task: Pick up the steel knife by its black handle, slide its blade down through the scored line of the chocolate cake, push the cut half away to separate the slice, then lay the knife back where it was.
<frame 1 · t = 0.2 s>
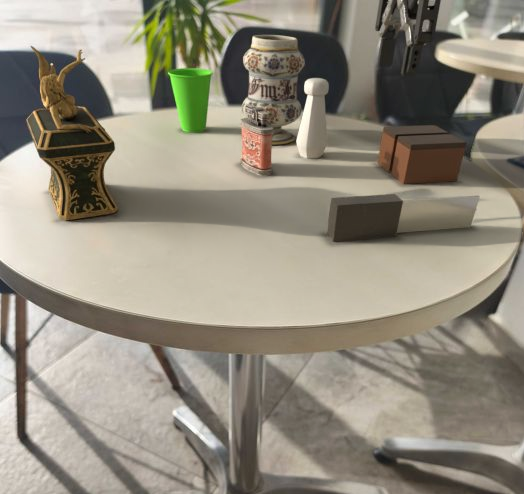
hand: (395, 71, 74), 17 cm above the table, tool pointing down, fingers open, 8 cm apart
cake half a: (423, 177, 86), on the table
knife: (391, 232, 68), on the table
cake half b: (408, 166, 91), on the table
salt shaker: (310, 156, 95), on the table
apothecary jar: (270, 139, 103), on the table
decorative box: (81, 198, 75), on the table
lighter: (255, 169, 88), on the table
cup: (193, 130, 107), on the table
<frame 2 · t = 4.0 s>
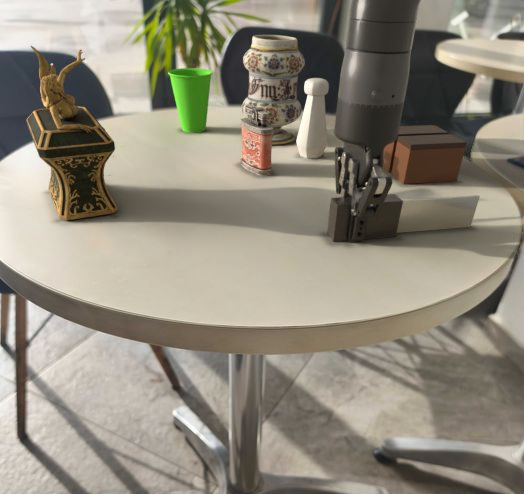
hand: (351, 235, 67), 0 cm above the table, tool pointing down, fingers closed on knife, 2 cm apart
knife: (391, 232, 68), on the table, touching gripper
everything else where it was.
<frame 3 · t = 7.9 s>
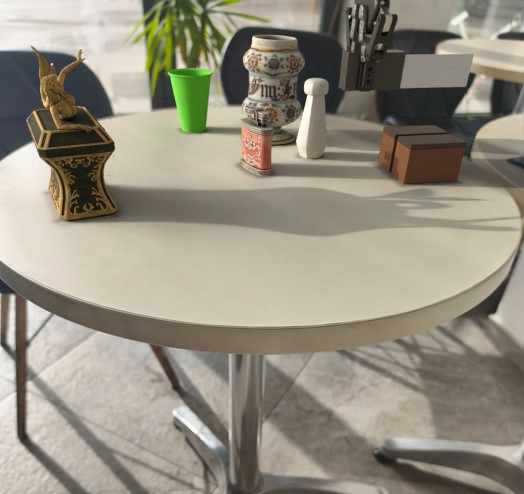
hand: (360, 88, 75), 14 cm above the table, tool pointing down, fingers closed on knife, 2 cm apart
knife: (396, 88, 77), point 14 cm above the table, touching gripper
everything else where it was.
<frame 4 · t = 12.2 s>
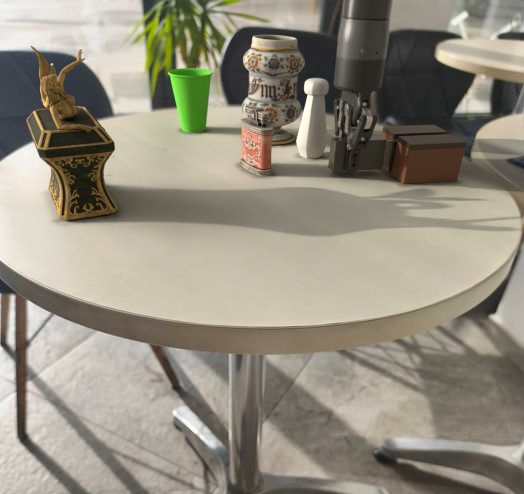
hand: (347, 168, 86), 1 cm above the table, tool pointing down, fingers closed on knife, 2 cm apart
knife: (379, 167, 87), point 1 cm above the table, touching cake half b, gripper
cake half b: (407, 166, 91), on the table, touching knife
everything else where it was.
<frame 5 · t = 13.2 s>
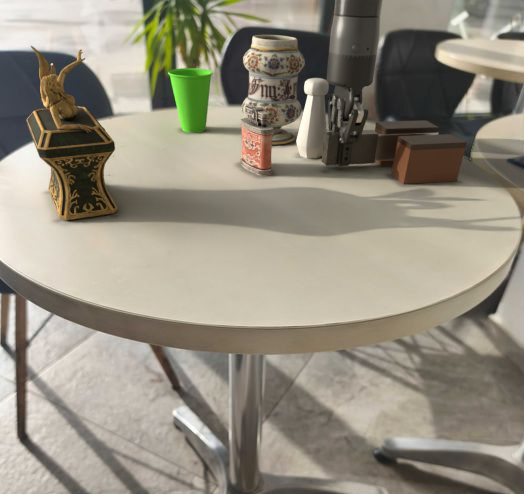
hand: (340, 161, 88), 1 cm above the table, tool pointing down, fingers closed on knife, 2 cm apart
knife: (371, 161, 89), point 1 cm above the table, touching cake half b, gripper
cake half b: (400, 160, 93), on the table, touching knife
everything else where it was.
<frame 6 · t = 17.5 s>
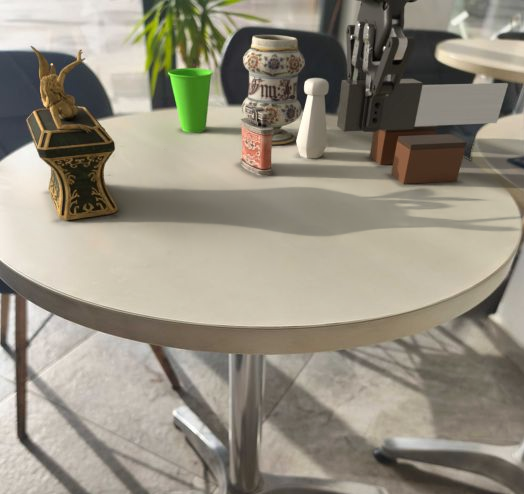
hand: (364, 126, 60), 14 cm above the table, tool pointing down, fingers closed on knife, 2 cm apart
knife: (409, 126, 61), point 13 cm above the table, touching gripper
cake half b: (399, 159, 94), on the table
everything else where it was.
when the fingers open (0 cm above the table, at t = 20.7 s): knife stays where it is, on the table.
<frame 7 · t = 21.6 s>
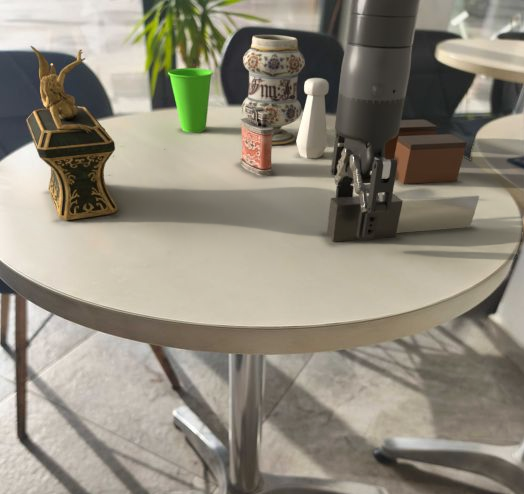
hand: (352, 224, 66), 2 cm above the table, tool pointing down, fingers open, 8 cm apart
knife: (391, 232, 68), on the table
everything else where it was.
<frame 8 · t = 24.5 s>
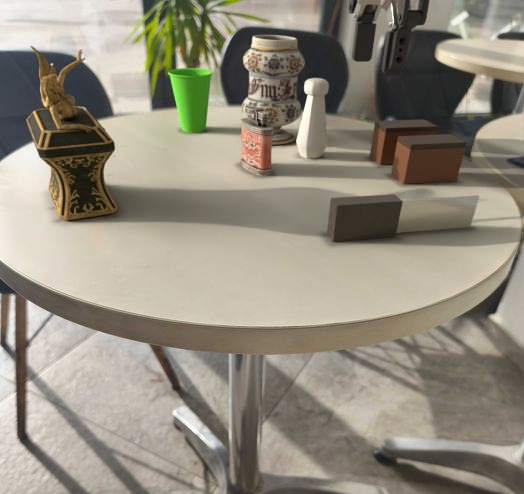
hand: (375, 67, 55), 20 cm above the table, tool pointing down, fingers open, 8 cm apart
nothing on the table moved.
at the end: cake half b moved 4.1 cm from its start; cake half a moved 0.0 cm from its start; knife inside the target area (0.1 cm from its centre), on the table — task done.
